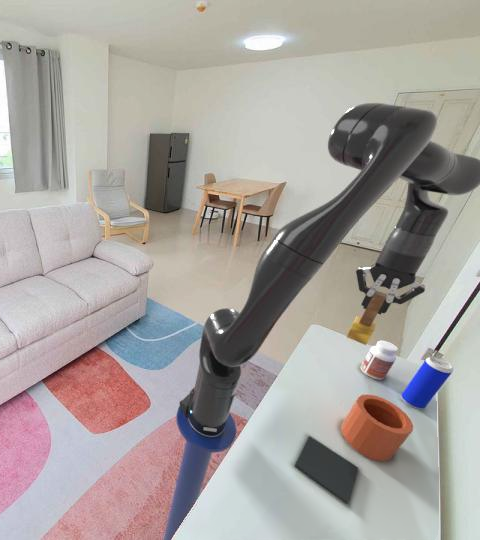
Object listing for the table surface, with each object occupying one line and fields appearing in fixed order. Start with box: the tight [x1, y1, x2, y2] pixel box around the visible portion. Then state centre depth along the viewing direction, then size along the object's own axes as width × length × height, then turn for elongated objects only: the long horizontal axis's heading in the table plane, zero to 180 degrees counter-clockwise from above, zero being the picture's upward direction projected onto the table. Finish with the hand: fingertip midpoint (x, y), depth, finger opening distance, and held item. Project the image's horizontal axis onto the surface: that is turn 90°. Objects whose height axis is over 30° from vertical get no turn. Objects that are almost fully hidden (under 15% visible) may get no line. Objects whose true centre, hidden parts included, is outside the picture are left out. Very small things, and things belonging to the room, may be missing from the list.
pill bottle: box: [360, 340, 399, 380], centre depth 90 cm, size 6×6×11 cm
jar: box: [340, 393, 414, 462], centre depth 70 cm, size 10×10×10 cm
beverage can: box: [400, 355, 454, 410], centre depth 80 cm, size 5×5×15 cm
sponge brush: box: [346, 290, 388, 346], centre depth 77 cm, size 4×4×14 cm
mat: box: [294, 435, 359, 504], centre depth 66 cm, size 10×10×1 cm
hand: (372, 310), depth 76 cm, fingers closed on sponge brush, 2 cm apart
